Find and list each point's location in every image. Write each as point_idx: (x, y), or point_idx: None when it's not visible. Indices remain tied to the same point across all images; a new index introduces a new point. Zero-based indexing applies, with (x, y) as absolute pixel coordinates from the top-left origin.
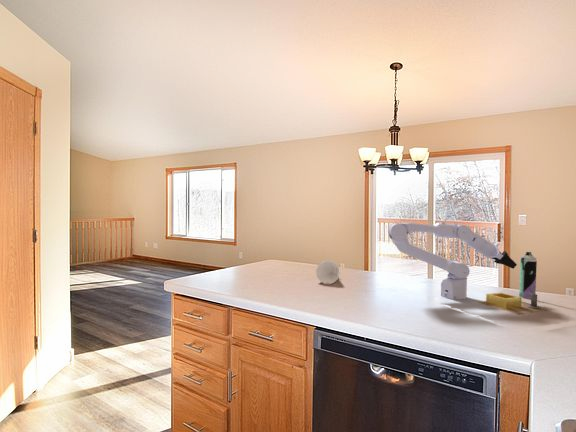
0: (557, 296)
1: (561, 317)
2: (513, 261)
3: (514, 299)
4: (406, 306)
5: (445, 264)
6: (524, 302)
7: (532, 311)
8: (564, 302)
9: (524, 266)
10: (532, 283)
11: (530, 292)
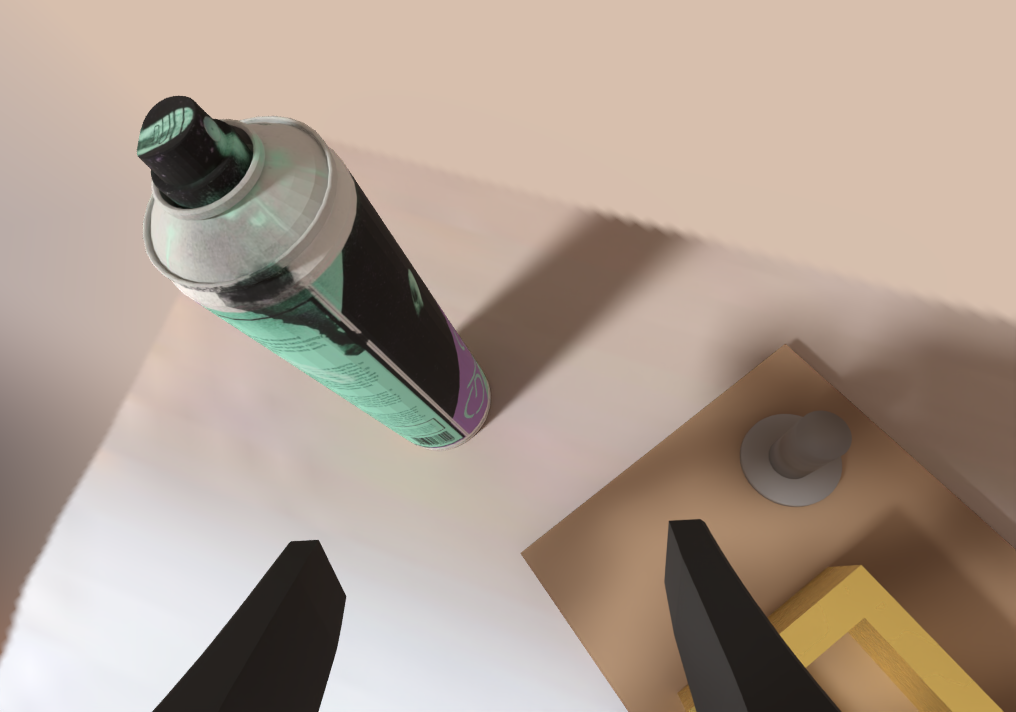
0: None
1: (890, 337)
2: (752, 600)
3: (953, 663)
4: None
5: None
6: (630, 476)
7: (955, 522)
8: (439, 199)
9: (353, 321)
10: (449, 328)
11: (474, 373)
